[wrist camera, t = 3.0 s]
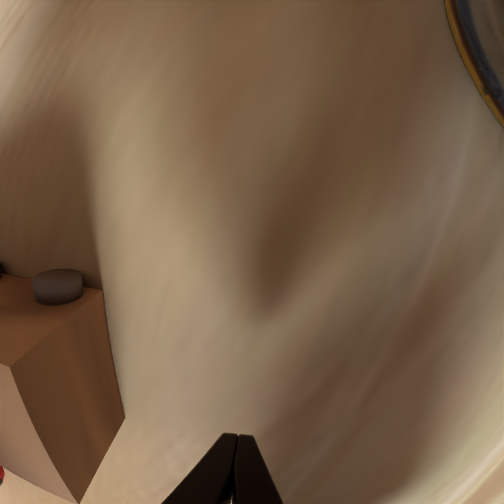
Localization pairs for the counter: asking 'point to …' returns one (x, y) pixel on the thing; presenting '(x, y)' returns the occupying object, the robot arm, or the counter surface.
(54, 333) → the brown toy brick
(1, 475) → the canned food
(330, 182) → the counter surface
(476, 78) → the apothecary jar
